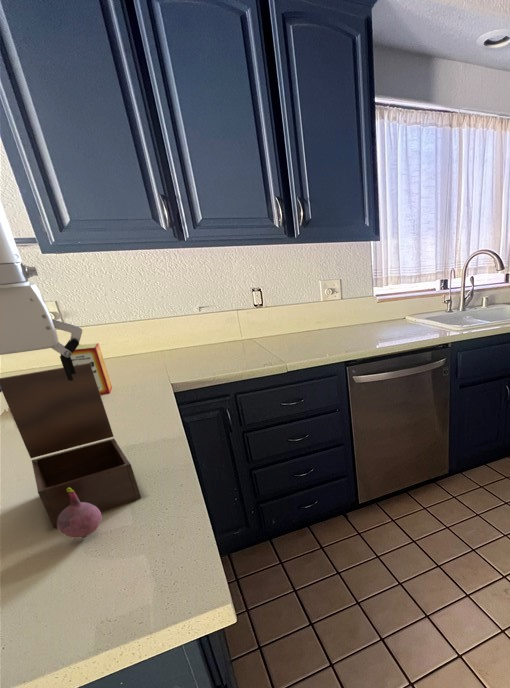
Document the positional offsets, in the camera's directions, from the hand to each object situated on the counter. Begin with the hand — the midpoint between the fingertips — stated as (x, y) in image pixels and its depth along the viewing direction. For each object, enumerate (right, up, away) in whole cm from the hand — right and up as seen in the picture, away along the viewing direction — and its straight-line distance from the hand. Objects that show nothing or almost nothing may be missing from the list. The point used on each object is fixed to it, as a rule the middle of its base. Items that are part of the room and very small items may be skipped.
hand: (35, 384), depth 71 cm
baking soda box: (-40, +5, +73) cm, 84 cm away
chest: (-1, -21, +16) cm, 26 cm away
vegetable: (+6, -27, +3) cm, 28 cm away
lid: (-6, -4, +14) cm, 15 cm away
